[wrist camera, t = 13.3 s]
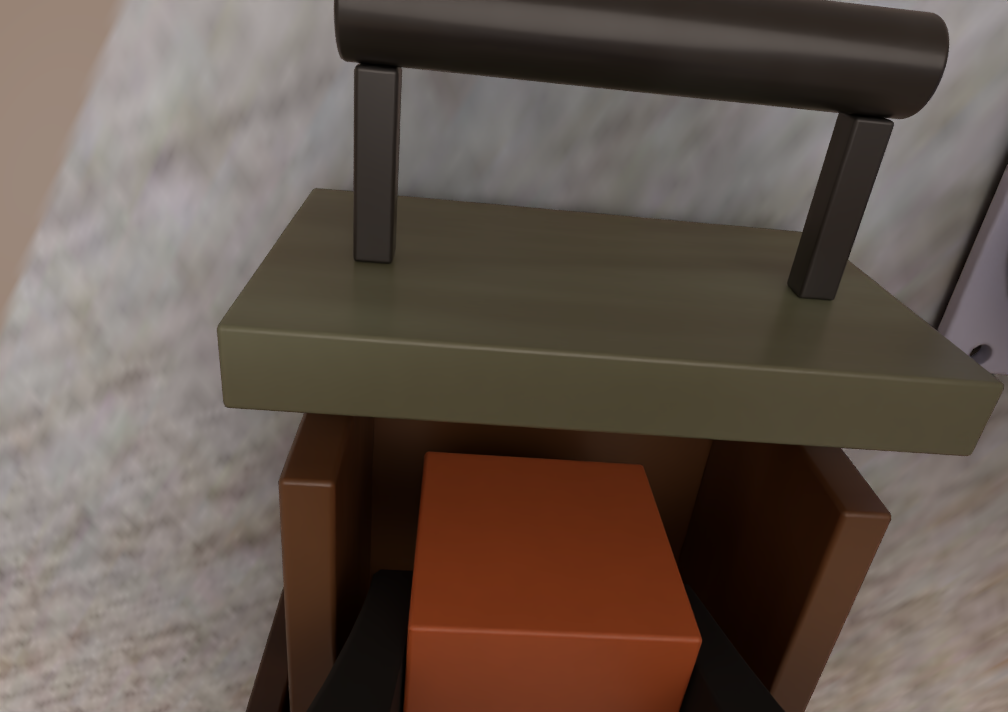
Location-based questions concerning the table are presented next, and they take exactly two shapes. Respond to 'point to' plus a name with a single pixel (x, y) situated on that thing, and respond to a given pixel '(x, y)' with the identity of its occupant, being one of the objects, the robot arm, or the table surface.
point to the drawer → (607, 323)
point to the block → (544, 590)
